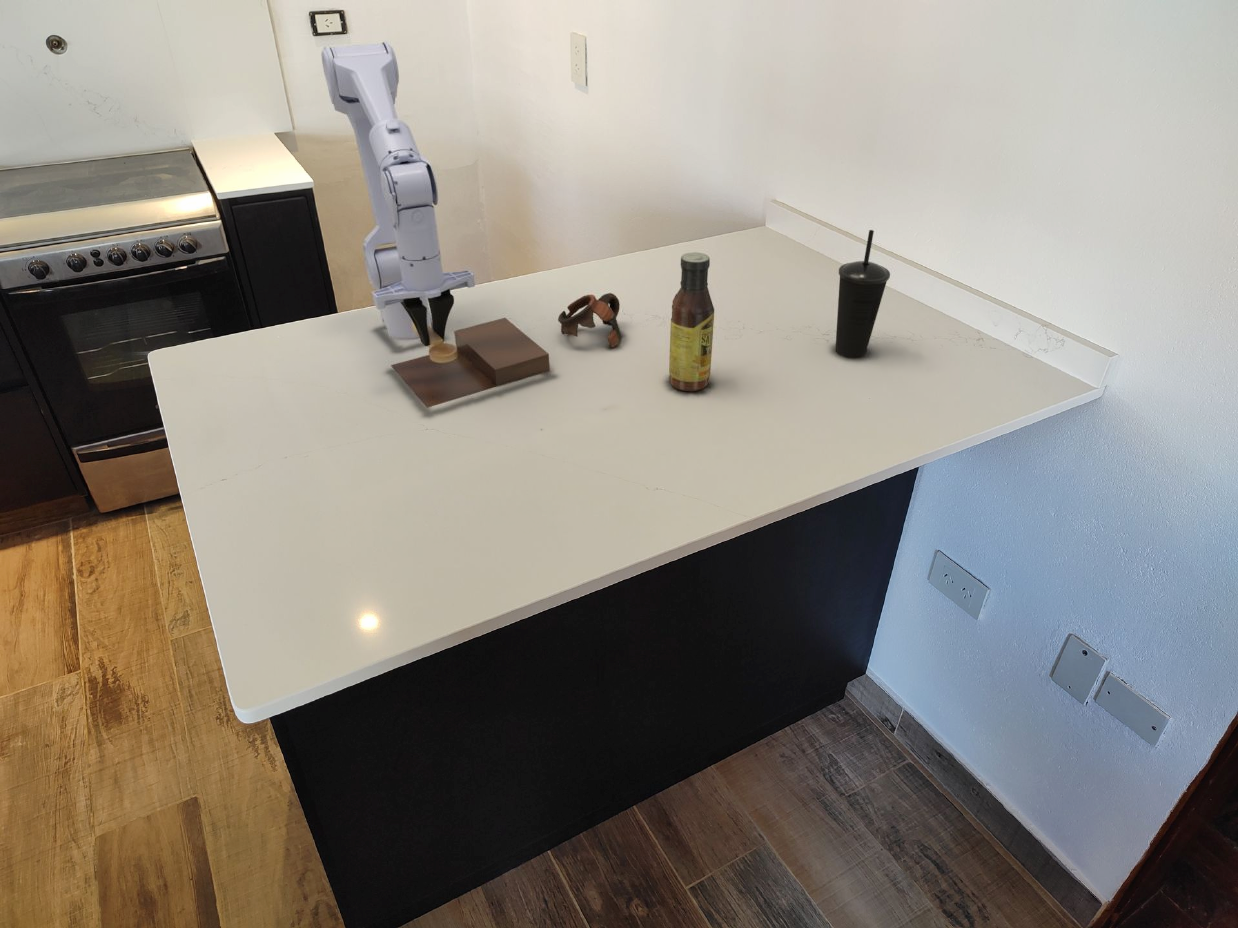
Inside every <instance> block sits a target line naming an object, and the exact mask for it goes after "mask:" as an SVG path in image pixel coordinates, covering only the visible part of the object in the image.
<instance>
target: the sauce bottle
mask: <svg viewBox="0 0 1238 928" xmlns="http://www.w3.org/2000/svg"><path fill="white" fill-rule="evenodd" d="M710 261H711V258H710V256H709V255H708V254H706V253H702V252H697V251H695V252H693V251H692V252H687V253H683V254H682V255H681V257H680V268H681V276H680V278H681V279H680V288H679V289H678V291H677V293H676V294H675V295H674V298H673V300H672V304H671V318H670V332H669V333H670V335H669V337H670V338H669V357H668V359H669V364H668V365H669V366H668V373H669V382H670V385H671V386H672V387H673V388H674V389H677V390H679V391H684V392H697V391H700V390H702V389H704V388H706V387H707V386H708V384H709V382H710V376H711V370H712V368H711V367H712V355H713V354H712V353H713V339H714V325H715V324H714V323H715V307H714V304H713V300H712V298H711V295H710V290H709V287H708V286H709V283H708V278H709V277H708V275H709V268H710V266H711V264H710V263H711V262H710Z"/></svg>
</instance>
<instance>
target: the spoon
mask: <svg viewBox="0 0 1238 928" xmlns="http://www.w3.org/2000/svg"><path fill="white" fill-rule="evenodd" d="M412 326H413V331H414V332H415V333H416V334H417V335H418V336H419V334H418V332H417V329H416V327H415V325H414V323H413V321H412ZM427 327H428V333H429V338H430V345H429V346H427V347H428V348H429V349H428V355H429V356H430V359H431V360H432V361H434V362H438V363H445V362H450V361H453V360H454V359H456V358H457V356H458V353H457V347H456V344H453V343H449V342H448V343H447V342H443V339H442V338H441V337H440V336H439V335H438V334H437V333H436V332H435V331H434V330H433V327H432V328H431V327H430V326H429V325H428V324H427Z"/></svg>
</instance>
